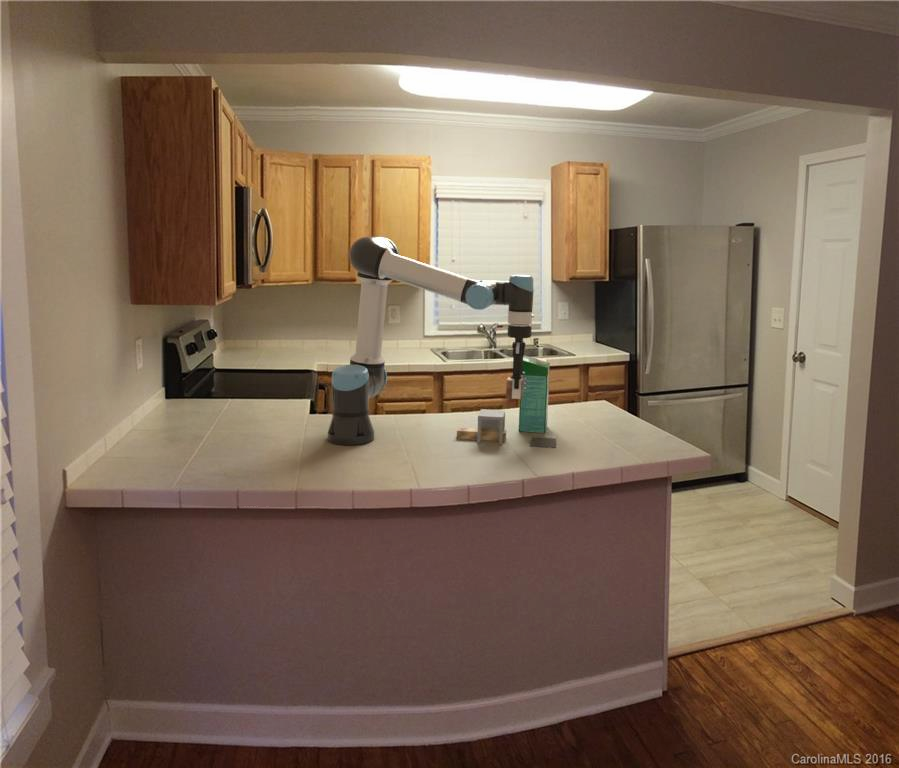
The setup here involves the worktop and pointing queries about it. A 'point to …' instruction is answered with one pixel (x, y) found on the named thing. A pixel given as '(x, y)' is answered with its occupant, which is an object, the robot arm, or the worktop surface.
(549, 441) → the mat
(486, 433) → the tan long bar
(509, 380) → the block
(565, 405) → the worktop surface
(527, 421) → the milk carton
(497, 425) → the tunnel
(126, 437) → the worktop surface
